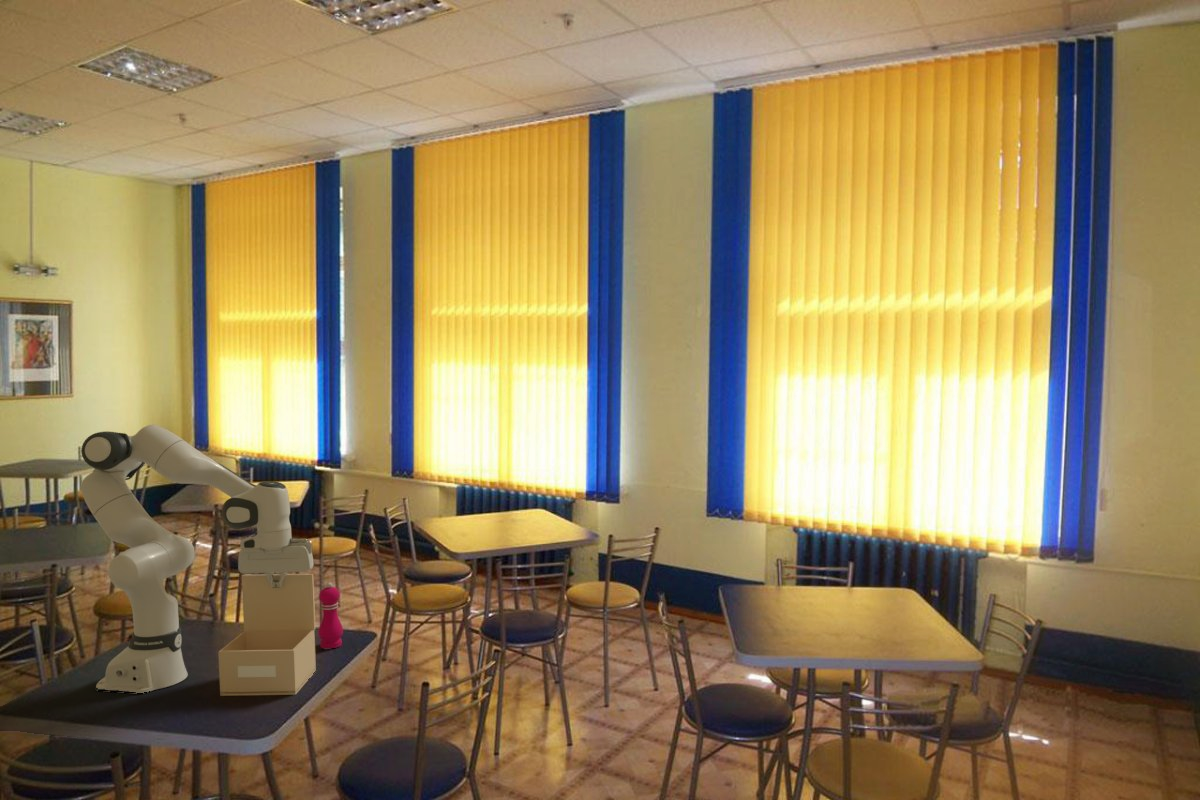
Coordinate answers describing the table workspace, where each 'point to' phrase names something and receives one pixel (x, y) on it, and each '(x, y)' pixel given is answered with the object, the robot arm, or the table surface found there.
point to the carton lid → (278, 603)
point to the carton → (267, 662)
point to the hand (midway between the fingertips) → (277, 587)
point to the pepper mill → (330, 618)
